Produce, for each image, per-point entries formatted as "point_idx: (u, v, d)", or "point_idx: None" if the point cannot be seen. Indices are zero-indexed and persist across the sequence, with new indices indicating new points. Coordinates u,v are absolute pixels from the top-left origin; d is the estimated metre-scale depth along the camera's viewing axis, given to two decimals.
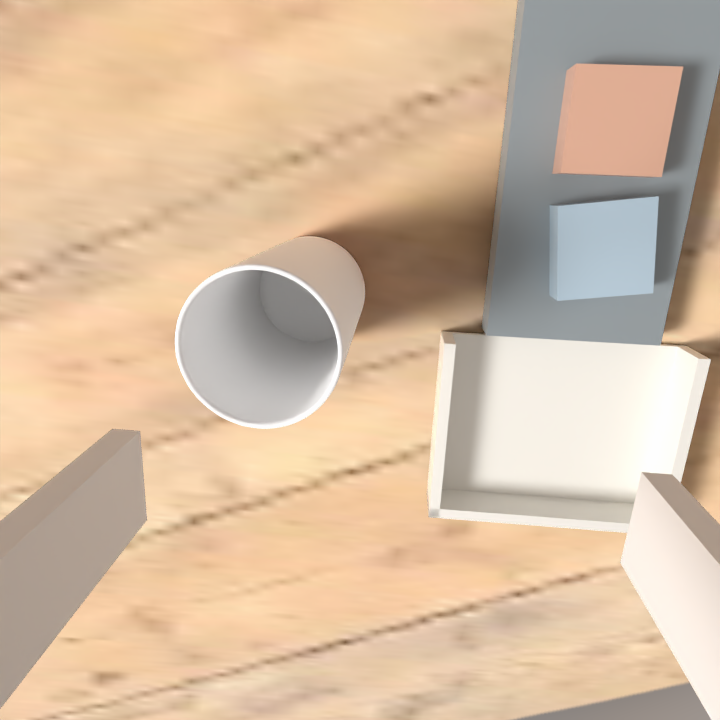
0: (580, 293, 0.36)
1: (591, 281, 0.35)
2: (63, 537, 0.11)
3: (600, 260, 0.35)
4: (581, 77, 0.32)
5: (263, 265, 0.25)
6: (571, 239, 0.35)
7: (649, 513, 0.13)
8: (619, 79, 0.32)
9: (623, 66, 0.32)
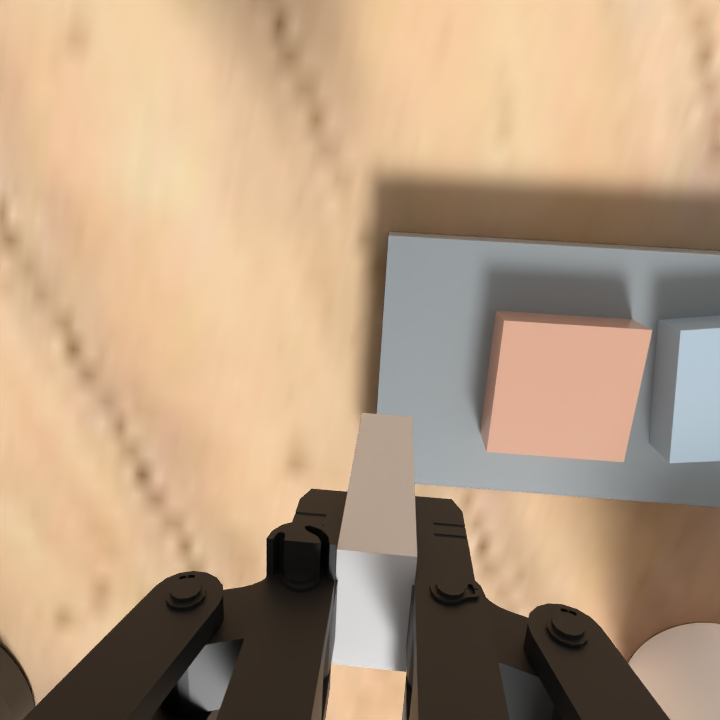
0: None
1: None
2: None
3: None
4: (504, 444, 0.24)
5: None
6: None
7: None
8: (511, 399, 0.24)
9: (496, 396, 0.24)
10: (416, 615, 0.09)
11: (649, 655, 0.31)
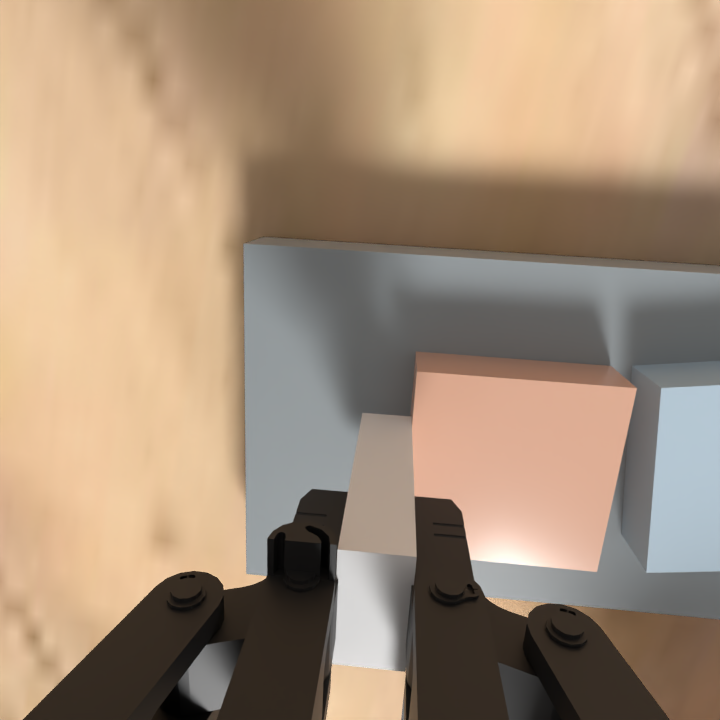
0: None
1: None
2: None
3: None
4: None
5: None
6: None
7: None
8: (432, 482, 0.16)
9: None
10: (415, 615, 0.09)
11: None
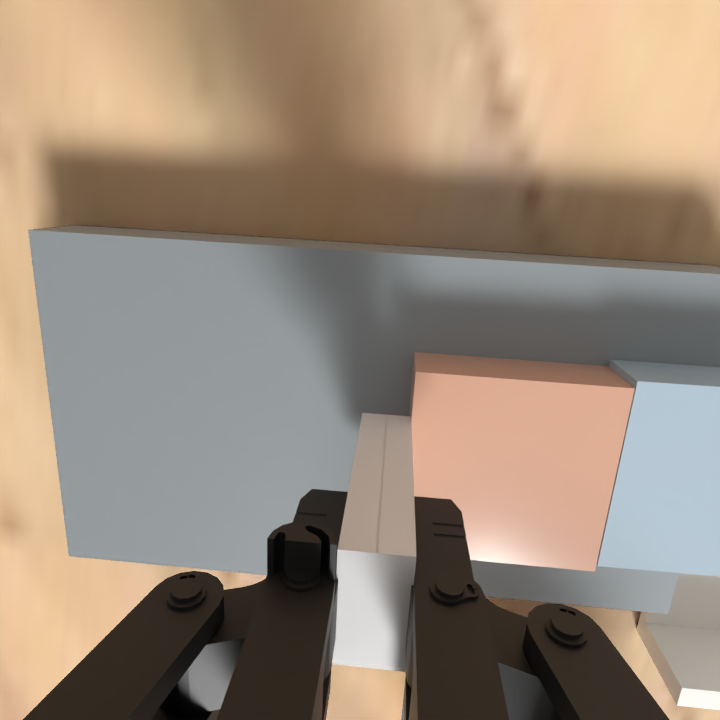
0: None
1: None
2: None
3: None
4: None
5: None
6: (674, 548, 0.16)
7: None
8: (431, 482, 0.16)
9: None
10: (416, 615, 0.09)
11: None
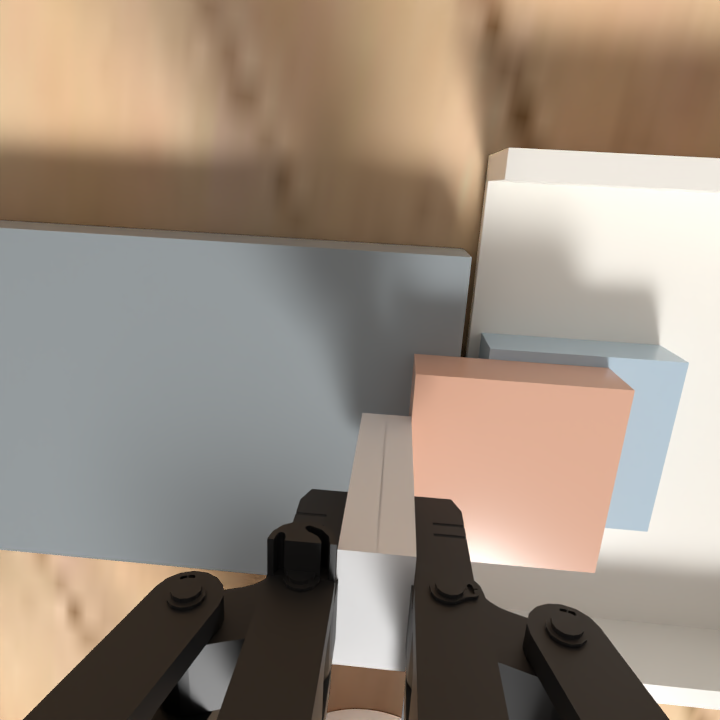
0: (645, 492, 0.18)
1: (626, 472, 0.18)
2: None
3: None
4: None
5: None
6: None
7: None
8: (431, 484, 0.16)
9: None
10: (416, 615, 0.09)
11: None
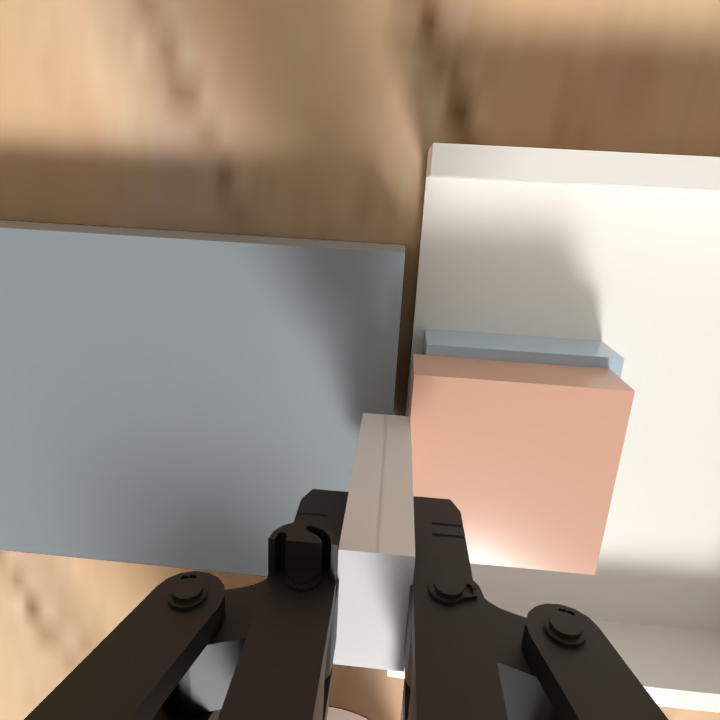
0: None
1: None
2: None
3: None
4: None
5: None
6: None
7: None
8: (430, 485, 0.16)
9: None
10: (415, 615, 0.09)
11: None
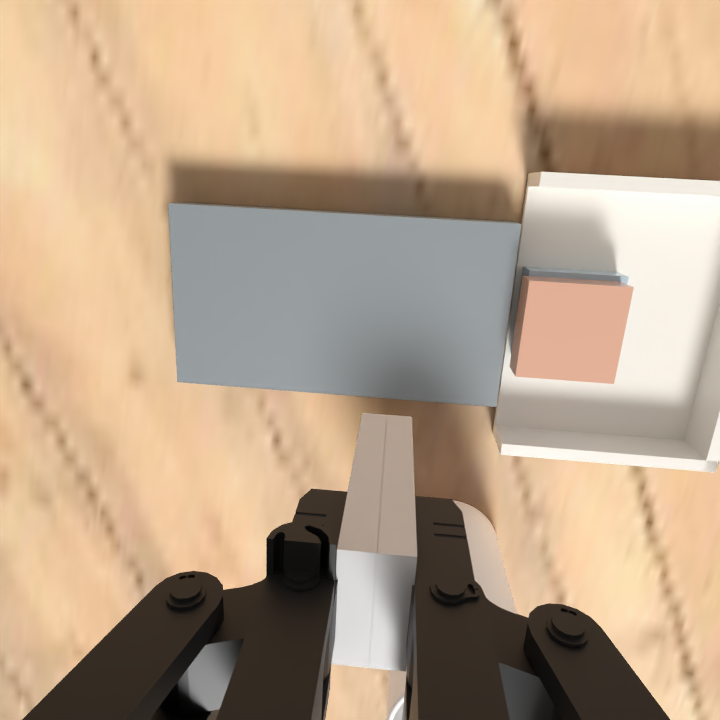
0: None
1: None
2: None
3: None
4: (528, 371, 0.34)
5: None
6: None
7: None
8: (533, 337, 0.33)
9: (522, 335, 0.33)
10: (416, 615, 0.09)
11: None
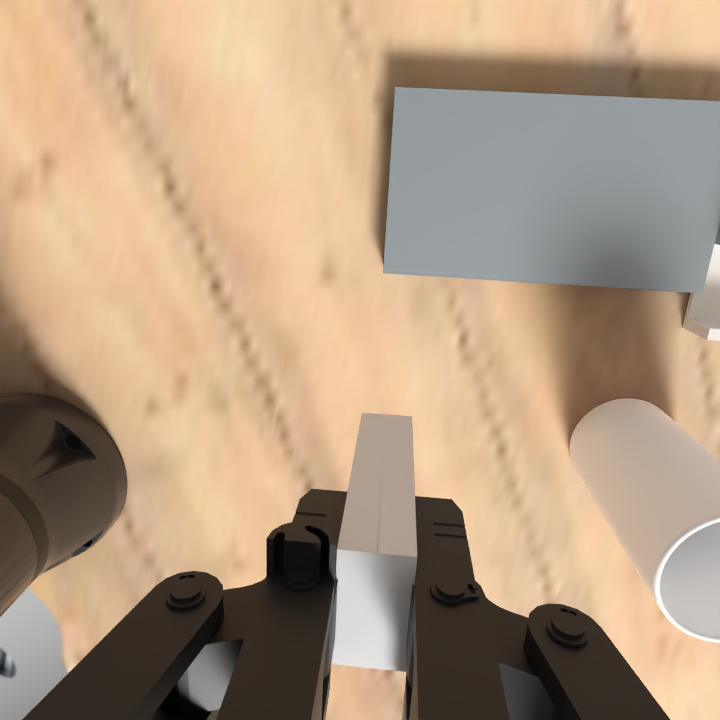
0: None
1: None
2: None
3: None
4: None
5: (657, 567, 0.29)
6: None
7: None
8: None
9: None
10: (416, 615, 0.09)
11: (586, 421, 0.43)
